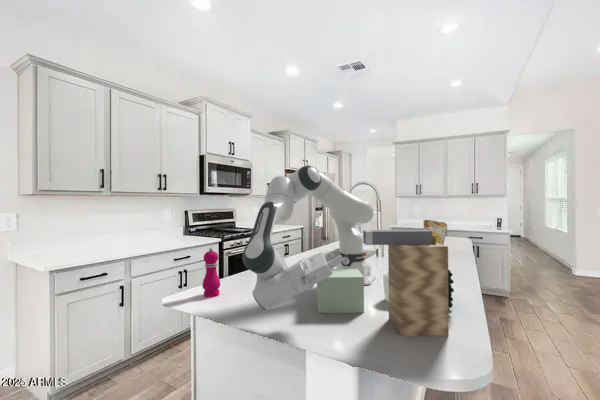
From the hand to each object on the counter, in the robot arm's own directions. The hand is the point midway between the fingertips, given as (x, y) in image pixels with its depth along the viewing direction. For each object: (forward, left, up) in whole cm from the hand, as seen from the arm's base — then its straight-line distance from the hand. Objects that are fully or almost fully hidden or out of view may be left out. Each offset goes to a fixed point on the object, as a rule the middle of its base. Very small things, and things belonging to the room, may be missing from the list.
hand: (340, 254), depth 95 cm
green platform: (-16, -9, -23) cm, 29 cm away
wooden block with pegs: (-14, +19, -23) cm, 33 cm away
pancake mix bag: (-81, +9, -23) cm, 84 cm away
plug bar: (-10, +14, +3) cm, 18 cm away
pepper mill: (+2, -60, -23) cm, 64 cm away
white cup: (-34, +5, -23) cm, 41 cm away
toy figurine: (-41, +20, -23) cm, 51 cm away
